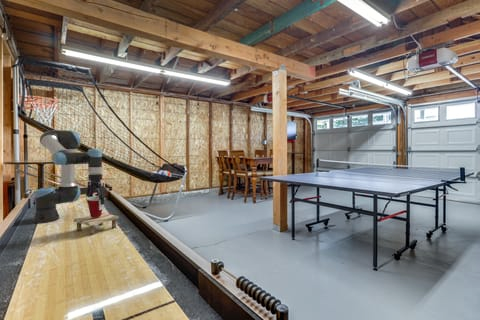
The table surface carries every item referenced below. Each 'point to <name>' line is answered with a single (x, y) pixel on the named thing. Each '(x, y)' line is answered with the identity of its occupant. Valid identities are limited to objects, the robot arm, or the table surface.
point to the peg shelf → (95, 221)
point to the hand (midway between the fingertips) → (96, 208)
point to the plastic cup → (94, 206)
